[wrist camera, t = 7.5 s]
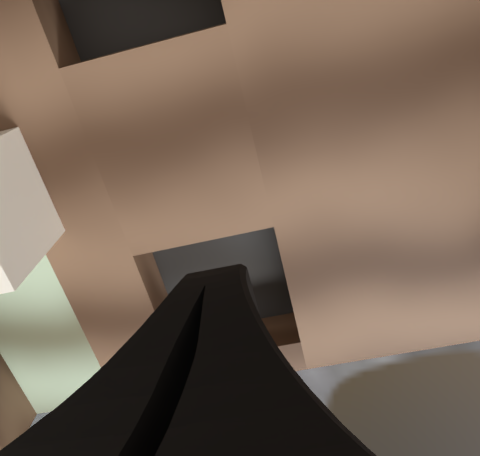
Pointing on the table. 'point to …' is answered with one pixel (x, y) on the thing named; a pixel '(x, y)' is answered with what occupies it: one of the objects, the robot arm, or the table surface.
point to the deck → (243, 175)
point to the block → (23, 213)
